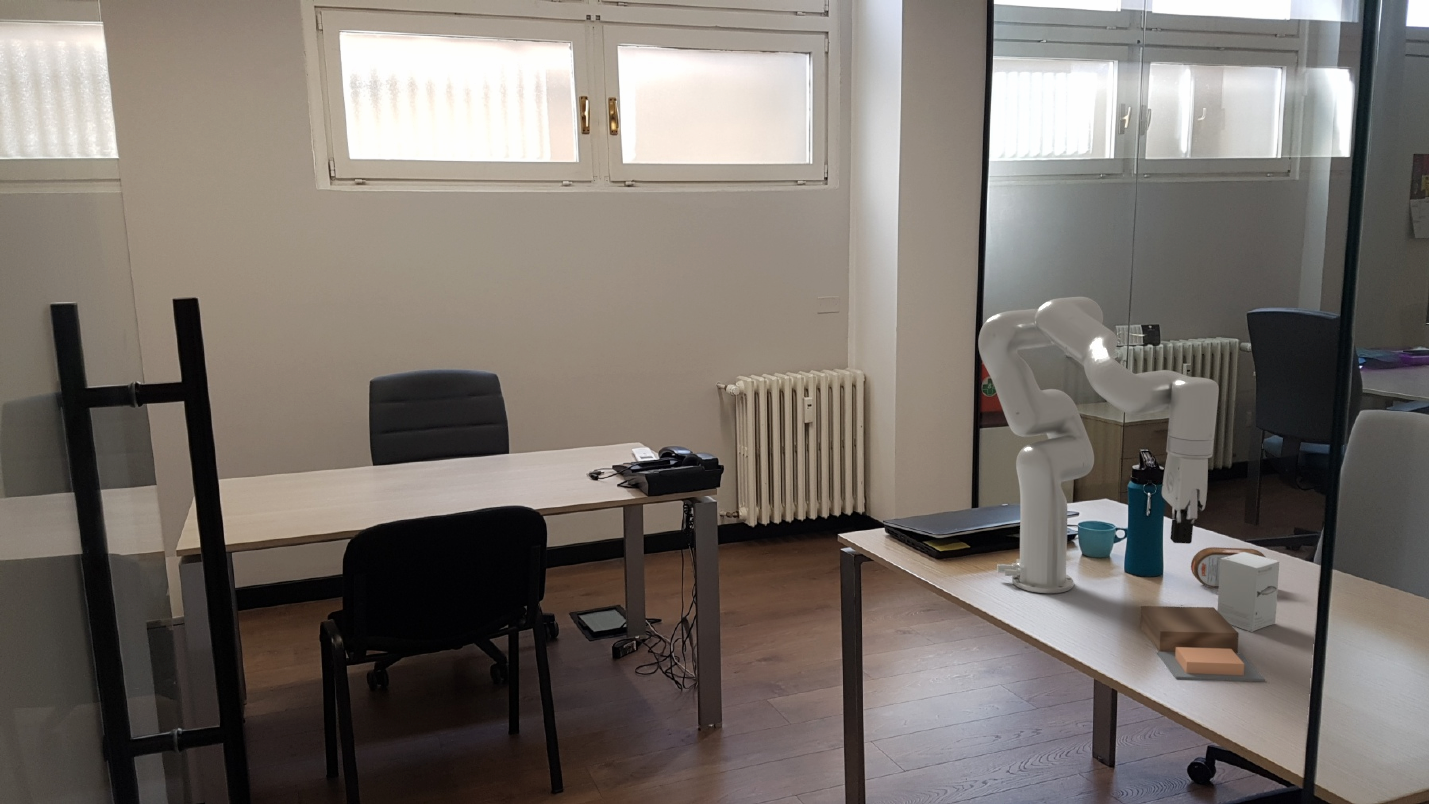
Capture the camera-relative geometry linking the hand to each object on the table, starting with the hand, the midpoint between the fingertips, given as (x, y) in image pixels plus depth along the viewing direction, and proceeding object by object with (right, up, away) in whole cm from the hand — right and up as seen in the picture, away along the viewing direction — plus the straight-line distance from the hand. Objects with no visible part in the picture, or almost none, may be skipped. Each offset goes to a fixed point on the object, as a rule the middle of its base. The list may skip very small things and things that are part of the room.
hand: (1180, 541), depth 174 cm
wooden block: (+1, -18, -1) cm, 18 cm away
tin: (+22, -13, +24) cm, 35 cm away
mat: (-1, -20, -12) cm, 23 cm away
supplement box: (+16, -17, +6) cm, 23 cm away
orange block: (-1, -18, -13) cm, 22 cm away
